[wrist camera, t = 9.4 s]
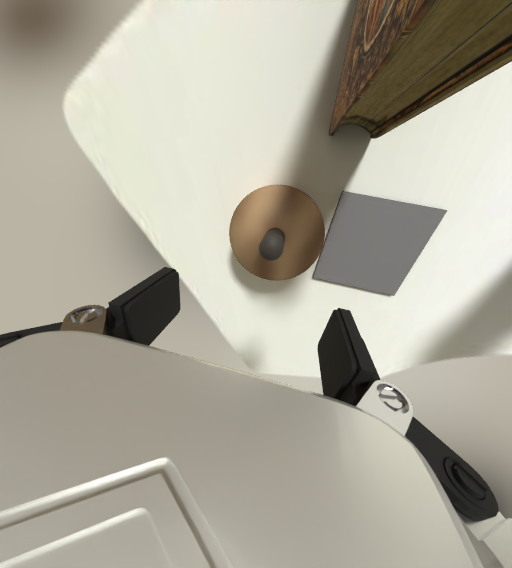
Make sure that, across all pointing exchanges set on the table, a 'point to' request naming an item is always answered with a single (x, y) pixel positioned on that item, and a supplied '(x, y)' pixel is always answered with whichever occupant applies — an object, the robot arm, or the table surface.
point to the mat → (375, 242)
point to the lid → (277, 232)
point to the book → (417, 57)
